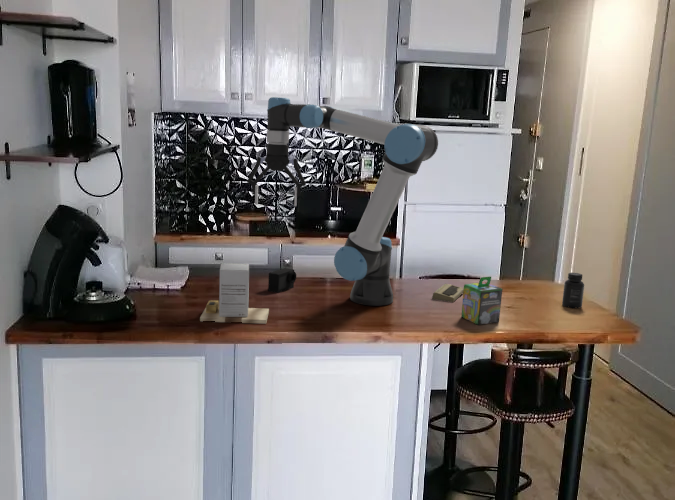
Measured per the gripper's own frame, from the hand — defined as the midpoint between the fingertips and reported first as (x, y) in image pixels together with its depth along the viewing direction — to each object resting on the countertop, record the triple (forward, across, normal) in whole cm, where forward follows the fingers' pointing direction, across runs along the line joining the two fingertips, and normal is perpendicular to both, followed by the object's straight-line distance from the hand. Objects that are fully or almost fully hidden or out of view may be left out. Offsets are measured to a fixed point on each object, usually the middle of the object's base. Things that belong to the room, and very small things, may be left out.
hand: (275, 205), depth 228 cm
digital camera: (+32, -3, -5) cm, 33 cm away
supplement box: (+31, +11, +30) cm, 44 cm away
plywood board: (+32, +10, +30) cm, 45 cm away
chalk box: (+32, -69, +24) cm, 80 cm away
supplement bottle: (+32, -108, +3) cm, 113 cm away
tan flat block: (+32, -64, -5) cm, 72 cm away
